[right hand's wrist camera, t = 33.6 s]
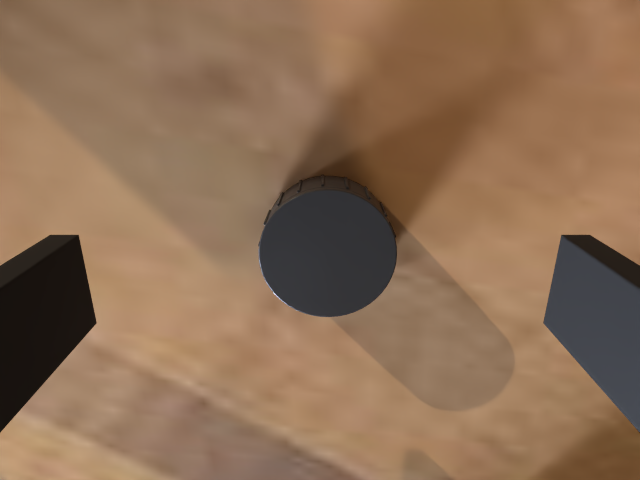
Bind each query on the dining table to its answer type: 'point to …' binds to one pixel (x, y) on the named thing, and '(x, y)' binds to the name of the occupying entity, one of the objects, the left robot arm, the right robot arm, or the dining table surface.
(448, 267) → the dining table surface
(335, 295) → the cap
